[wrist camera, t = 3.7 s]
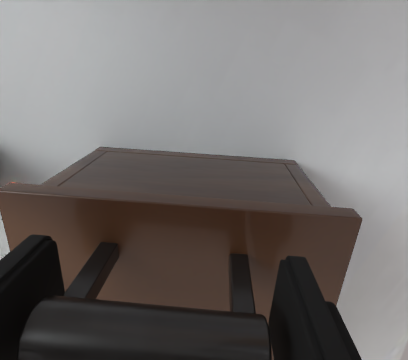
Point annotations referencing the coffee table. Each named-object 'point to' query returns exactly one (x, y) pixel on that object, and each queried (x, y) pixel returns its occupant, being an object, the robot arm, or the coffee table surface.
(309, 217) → the lid
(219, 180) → the chest
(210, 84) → the coffee table surface
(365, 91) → the coffee table surface
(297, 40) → the coffee table surface
